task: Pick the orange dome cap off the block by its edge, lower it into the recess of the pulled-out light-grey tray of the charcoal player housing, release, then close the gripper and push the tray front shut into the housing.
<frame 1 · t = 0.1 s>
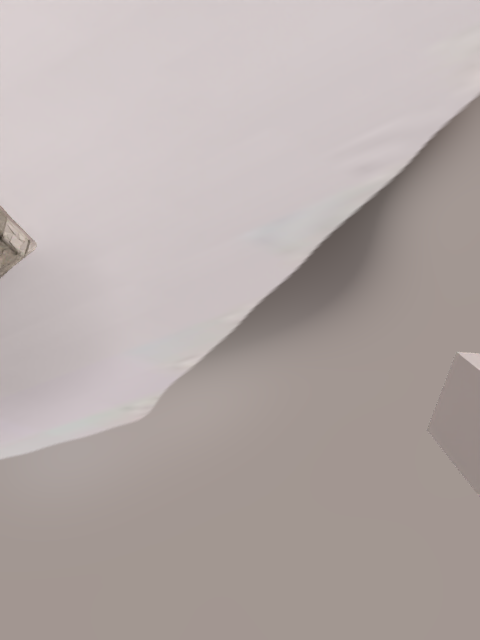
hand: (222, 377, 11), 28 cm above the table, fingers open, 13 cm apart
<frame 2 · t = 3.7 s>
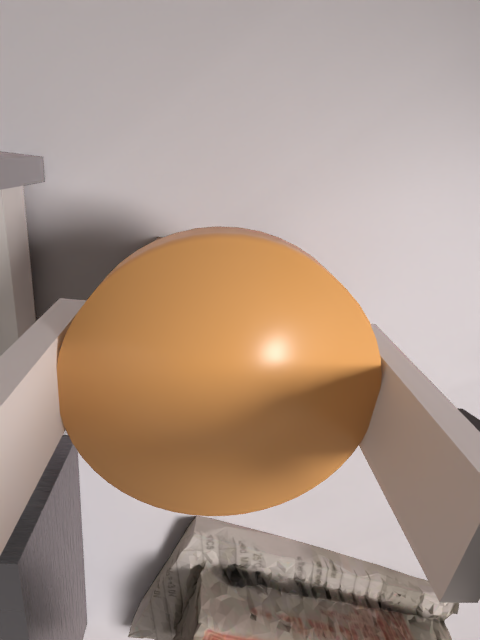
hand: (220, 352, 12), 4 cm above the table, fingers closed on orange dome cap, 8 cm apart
packaged product: (293, 592, 25), on the table
orange dome cap: (221, 367, 11), point 5 cm above the table, touching gripper, block
when the fingers open (3 cm above the table, at t = 7.9 s): orange dome cap drops 2 cm, resting on tray.
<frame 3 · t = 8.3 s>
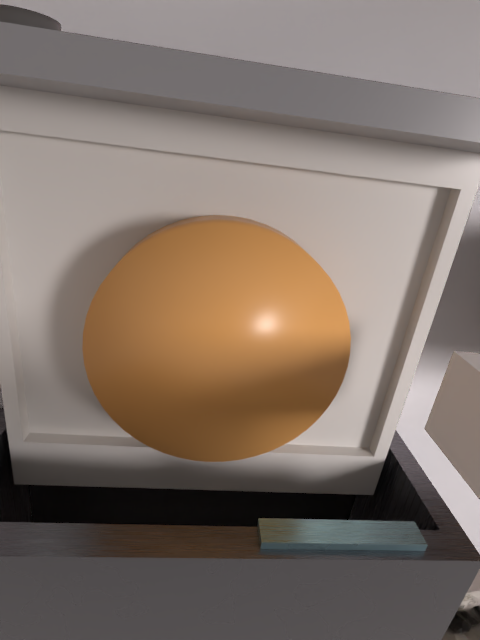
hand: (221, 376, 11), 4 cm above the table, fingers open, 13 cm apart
tray: (222, 328, 12), point 2 cm above the table, slide at 11.0 cm, touching orange dome cap
housing: (195, 537, 19), on the table
orange dome cap: (218, 335, 13), point 1 cm above the table, touching tray
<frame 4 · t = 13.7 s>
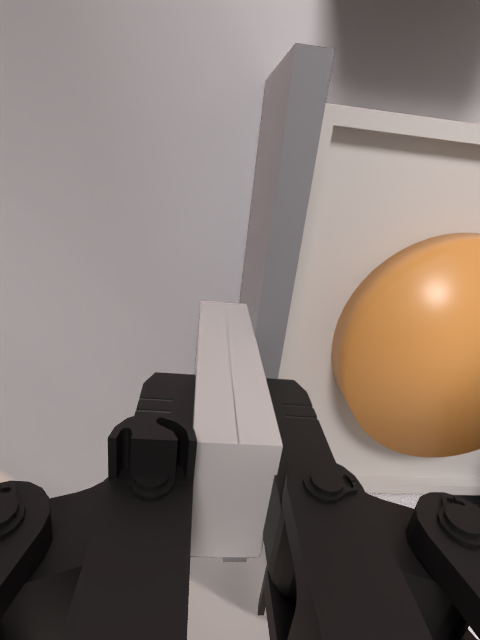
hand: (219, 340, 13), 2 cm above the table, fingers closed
tray: (434, 352, 13), point 2 cm above the table, slide at 9.7 cm, touching orange dome cap, gripper
orange dome cap: (438, 341, 14), point 1 cm above the table, touching tray
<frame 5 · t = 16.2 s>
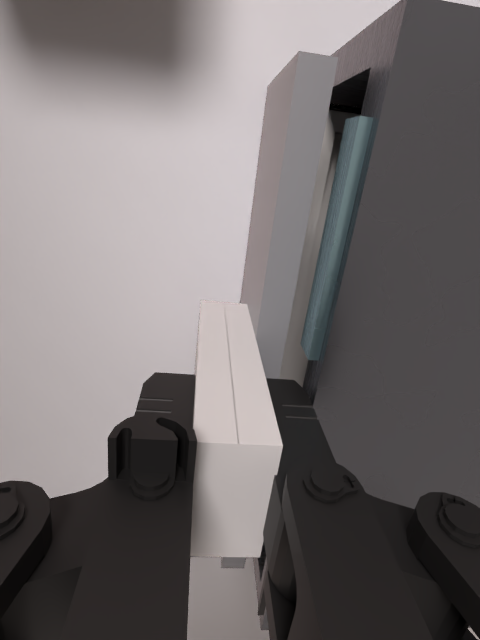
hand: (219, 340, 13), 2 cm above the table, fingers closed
tray: (434, 359, 13), point 2 cm above the table, slide at 0.5 cm, touching orange dome cap, gripper
housing: (443, 335, 15), on the table
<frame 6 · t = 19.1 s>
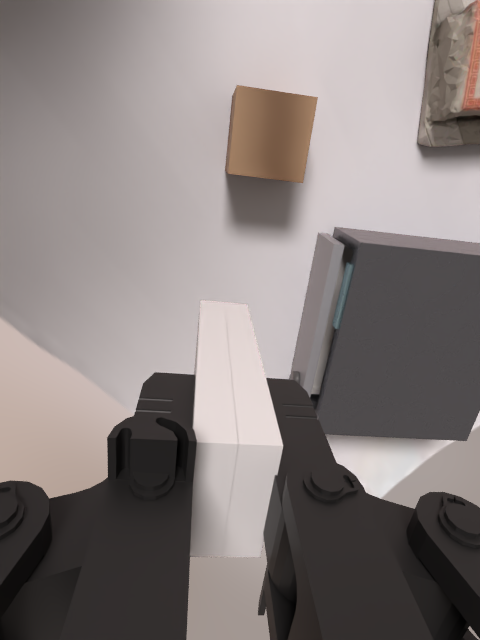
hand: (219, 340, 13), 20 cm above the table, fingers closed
tray: (381, 332, 34), point 2 cm above the table, slide at 0.5 cm, touching orange dome cap
housing: (388, 323, 36), on the table
block: (261, 139, 29), on the table
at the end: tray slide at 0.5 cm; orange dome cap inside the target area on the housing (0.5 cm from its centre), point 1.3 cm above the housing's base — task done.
